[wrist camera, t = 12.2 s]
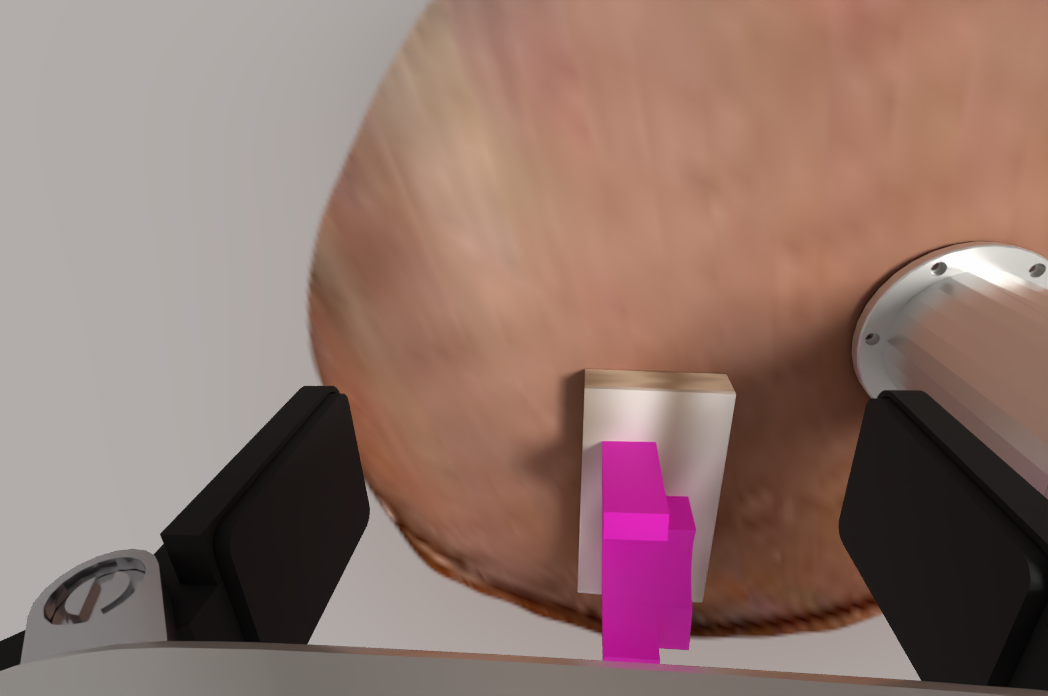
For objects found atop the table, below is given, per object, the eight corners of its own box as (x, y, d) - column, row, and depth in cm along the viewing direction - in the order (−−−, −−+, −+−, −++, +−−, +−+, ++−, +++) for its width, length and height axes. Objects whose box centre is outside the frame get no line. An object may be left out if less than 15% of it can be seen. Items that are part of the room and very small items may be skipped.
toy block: (680, 599, 45) (695, 689, 38) (601, 595, 46) (603, 682, 39) (692, 442, 39) (713, 515, 32) (602, 441, 40) (603, 512, 33)
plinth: (726, 373, 40) (736, 394, 37) (696, 573, 48) (702, 602, 45) (585, 368, 41) (584, 388, 38) (578, 564, 49) (577, 592, 46)
